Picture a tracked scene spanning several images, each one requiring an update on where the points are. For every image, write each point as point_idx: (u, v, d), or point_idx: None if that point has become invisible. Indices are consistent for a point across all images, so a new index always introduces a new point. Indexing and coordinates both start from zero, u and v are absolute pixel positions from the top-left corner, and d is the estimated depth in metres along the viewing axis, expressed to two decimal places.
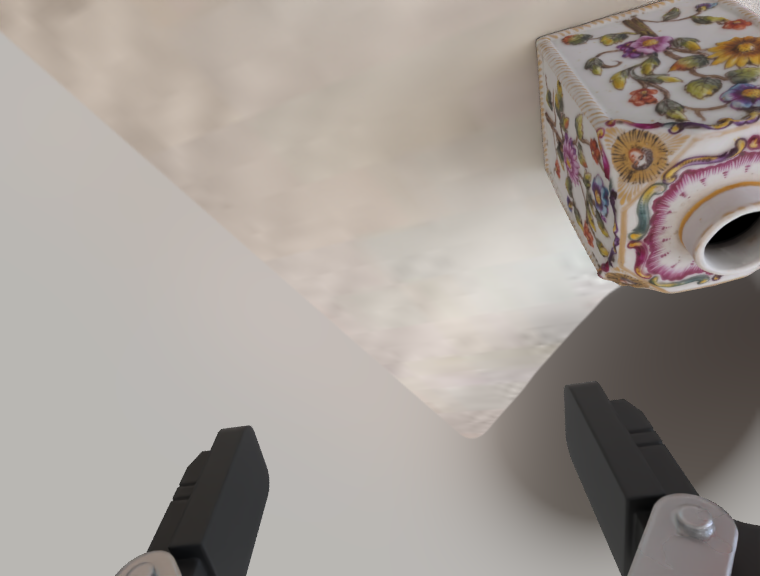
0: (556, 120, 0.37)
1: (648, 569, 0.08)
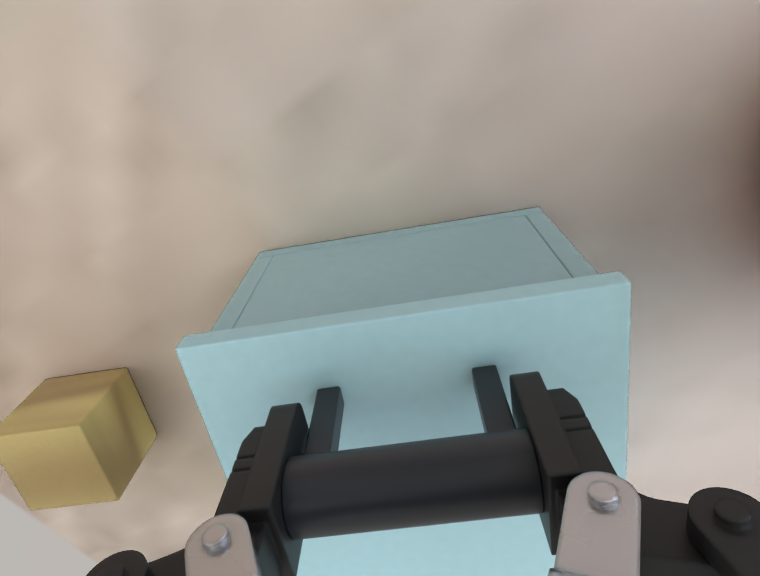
0: None
1: (572, 548, 0.08)
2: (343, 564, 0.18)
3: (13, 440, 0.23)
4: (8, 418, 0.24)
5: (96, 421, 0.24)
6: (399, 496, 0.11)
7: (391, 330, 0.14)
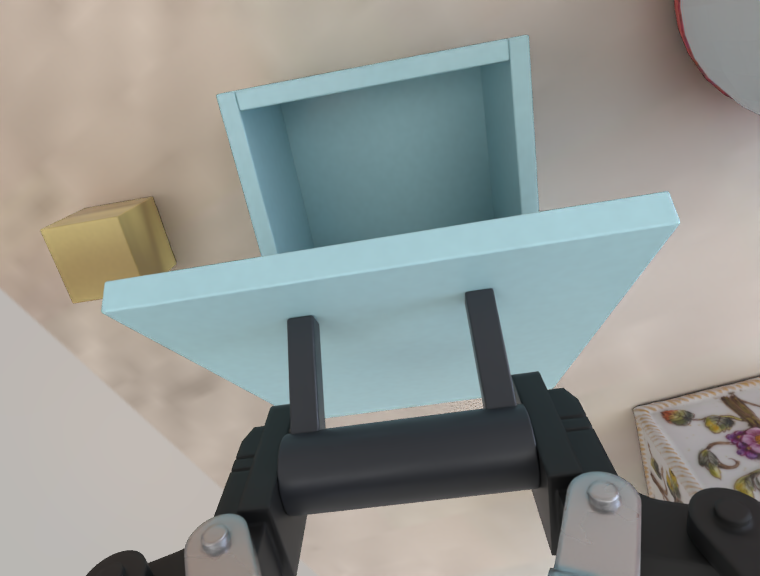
0: (668, 492, 0.35)
1: (572, 548, 0.08)
2: (326, 384, 0.20)
3: (62, 232, 0.28)
4: (57, 222, 0.29)
5: (129, 221, 0.29)
6: (400, 495, 0.11)
7: (372, 278, 0.12)
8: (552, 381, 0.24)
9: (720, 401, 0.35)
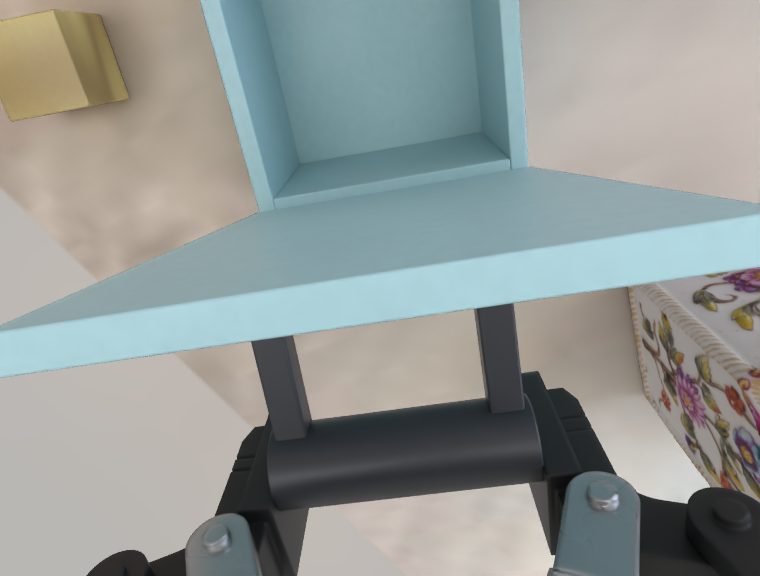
0: (660, 350, 0.33)
1: (571, 548, 0.08)
2: None
3: None
4: None
5: (69, 23, 0.26)
6: None
7: None
8: None
9: None
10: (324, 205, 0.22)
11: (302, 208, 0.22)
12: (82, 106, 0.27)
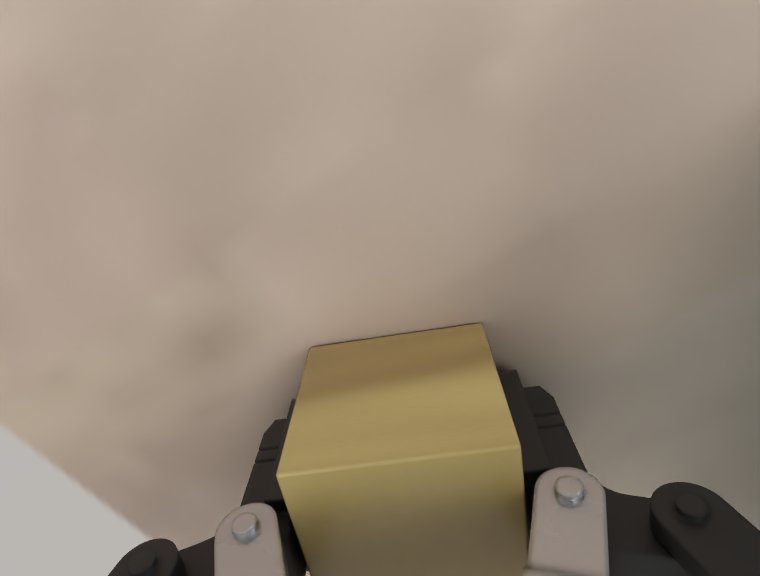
0: None
1: (543, 545, 0.09)
2: None
3: (343, 481, 0.10)
4: (297, 427, 0.11)
5: None
6: None
7: None
8: None
9: None
10: None
11: None
12: None
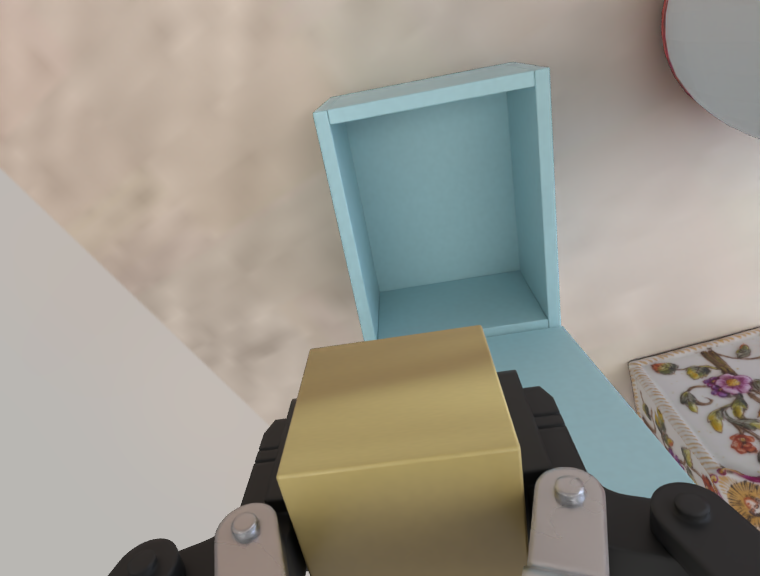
0: (656, 430, 0.43)
1: (543, 544, 0.09)
2: None
3: (343, 483, 0.10)
4: (297, 428, 0.11)
5: None
6: None
7: None
8: None
9: (700, 355, 0.42)
10: None
11: None
12: None
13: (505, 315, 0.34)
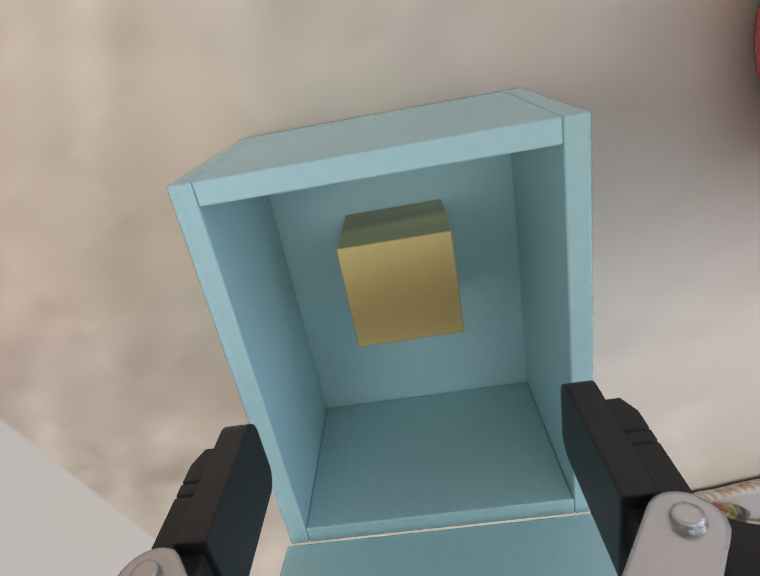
0: None
1: (643, 567, 0.08)
2: None
3: (368, 252, 0.20)
4: (344, 237, 0.21)
5: None
6: None
7: None
8: None
9: None
10: None
11: None
12: (454, 332, 0.22)
13: (506, 482, 0.22)
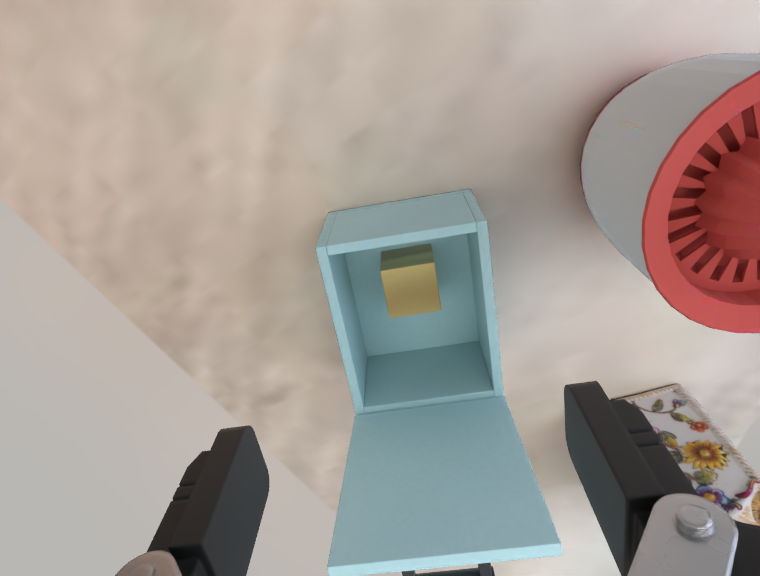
0: None
1: (648, 569, 0.08)
2: None
3: (395, 272, 0.43)
4: (382, 264, 0.44)
5: None
6: None
7: None
8: None
9: None
10: (396, 424, 0.42)
11: (384, 424, 0.42)
12: (436, 310, 0.44)
13: (462, 385, 0.45)
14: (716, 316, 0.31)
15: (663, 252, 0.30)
